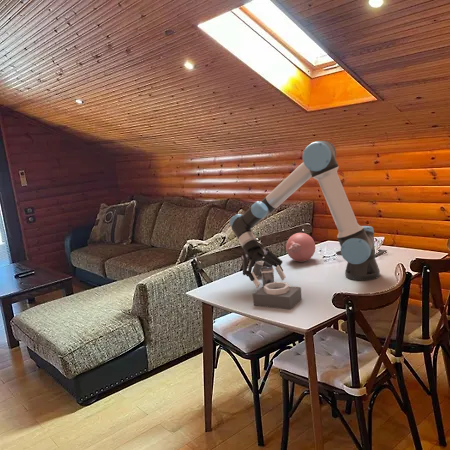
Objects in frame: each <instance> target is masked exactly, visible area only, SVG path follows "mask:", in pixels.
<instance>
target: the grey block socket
mask: <svg viewBox="0 0 450 450" xmlns="http://www.w3.org/2000/svg"><path fill="white" fill-rule="evenodd" d="M302 298H303V297H302V287H300V286H291V285H289V284H288V283H287V282H282V281H274V282H273V283H268V284H265V285H264V286H263V285H262V286H261V287H260V288H259V289H257V290H256V291H255V292H253V293H252V300H253V306H256V307H264V308H274V309H282V310H291V309H293V308H294V307H295V306H296V305H297V304H298V303H299V302H300V301H301V300H302Z"/></svg>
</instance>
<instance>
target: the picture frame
mask: <svg viewBox="0 0 450 450" xmlns="http://www.w3.org/2000/svg"><path fill="white" fill-rule="evenodd" d="M378 249H379V248H378ZM378 251H379V252H378V253H376V254H375V258H377V257H379V256H378V255H380V254H382V253H384V252H386V251H387V252H388V249H379V250H378ZM387 252H386V253H387ZM336 254H337V255H336ZM384 254H385V253H384ZM335 255H336V256H342V255H341V250H338V251H336V252H335ZM382 255H383V254H382ZM376 256H377V257H376ZM380 256H381V255H380Z"/></svg>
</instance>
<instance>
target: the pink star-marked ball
mask: <svg viewBox="0 0 450 450" xmlns="http://www.w3.org/2000/svg"><path fill="white" fill-rule="evenodd" d="M285 249H286V253H287V255H288V257H289V258H291V259H292V260H293V261H295V262H299V263H300V262H301V263H302V262H307V261H308V260H311V258H312V257H313V256H314V254H315V253H316V243H315V241H314V238H313V237H312V236H311V235H309V234H307V233H305V232H297V233H294V234H291V236H290V237H288V239H287V242H286V244H285Z"/></svg>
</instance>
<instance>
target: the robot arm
mask: <svg viewBox="0 0 450 450" xmlns="http://www.w3.org/2000/svg"><path fill="white" fill-rule="evenodd" d="M339 168H340V166H339V164H338V161H337V149H336V147H335V146H334V144H333V143H331V142H330V141H328V140H317V141H313V142H311V143H310V144H308V145H307V146H305V148H304V150H303V152H302V163H300V165H298V166H297V167H295V169H294V170H293V171H292V172H291V173H290V174H289V175H288V176H286V177H285V178H284V179H283V180H282V181H281V182H279V184H278V185H277V186H276V187H274V189H272V190H271V191H270V193H268V194H267V195H266V196H265V197H264V198H263V199H261V201H260V200H257V201H255V202H254V203H252V205H251V206H250V207H249V208H248V209H247V210H246V211H244V213H243V214H242V213H236V214H235V215H233V216H232V217H230V219H229V225H230V228H231V230H232V232H233V233H234V235H235V237H236V239H237V240H238V242H239V244H240V245H241V248H242V249H243V251H244V253H243V254H242V255H241V256H240V258H241V261H242V275H243V276H246V277H248V278H249V280H250V281H251V282H253V285H254V286H255V288H256V289H258V288H259V287H260V285H261V284H260V282H259V280H258V278H257V277H256V276H255V274H254V272H252V271H253V267H254V264H255V262H257V261H261V260H262V261H265V262H267V263H269V264H271V265H273V266H272V267H275V271H276V273H277V274H278V276H279V277H280V280H281V281H284V280H285V279H286V275H285V273H284V269H283V267H282V264H283V260H281V259H280V258H279V257H278V256H276V255H275V254H274V253H273V252H271V250H270V249H269V248H268V247H266V248H265V249H262V247H261V245H260V243H259V242H258V240H257V237H256V236H255V235H254V233H253V231H252V229H253V228H254V227H255V226H256V225H257V224H258V223H259V222H260V221H262V220H264V219H265V218H267V217H269V216H271V215H272V213H274V211H275V210H277V208H278V207H280V205H282V204H283V203H284V202H285V201H286V200H287V199H288V198H289V197H291V196H292V195H293V194H294V193H296V191H297V190H298V189H299V188H301V187H302V186H303V185H304V184H305V183H306V182H307V181H309V180H310V179H311V178H312V179H314V180H317V182H318V184H319V187H320V190H321V191H322V195H323V197H324V199H325V202H326V204H327V206H328V208H329V211H330V214H331V216H332V220H333V221H334V224H335V226H336V228H337V231H338V233H337V236H336V239H337V240H338V244H339V245H340V251H341V255H340V256H341V257H342V258H343V259H344V260H345V261H346V267H345V271H344V275H345V276H344V277H346V278H347V279H350V280H353V281H371V280H376V279H378V278H380V276H381V273H380V268H379V266H378V265H379V264H378V263H377V260H376V257H375V249H376V248H375V236H374V235H375V230H374V227H373V226H371V225H370V226H369V225H360V224H359V223H358V220H357V218H356V216H355V213H354V210H353V208H352V206H351V203H350V201H349V199H348V196H347V194H346V192H345V188H344V186H343V184H342V181H341V179H340V177H339V174H338V170H339ZM263 257H264V258H263ZM248 259H249V265H248Z"/></svg>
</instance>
